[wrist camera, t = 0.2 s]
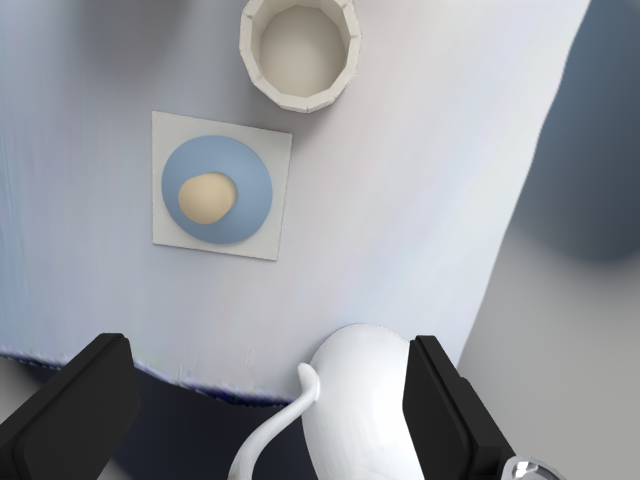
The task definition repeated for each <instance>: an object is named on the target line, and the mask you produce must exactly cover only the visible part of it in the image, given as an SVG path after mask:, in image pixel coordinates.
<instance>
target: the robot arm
mask: <svg viewBox="0 0 640 480" xmlns="http://www.w3.org/2000/svg"><path fill="white" fill-rule="evenodd" d="M140 407H141V401H140V395H139V390H138V385H137V380H136V375H135V369H134V364H133V359H132V353H131V348H130V343H129V340H128V339H127V338H125V337H124V335H123V334H121V333H102V334H100V335H98V336H97V337H96V338H95V339H94V340H93V341H92V342H91V343H90V344H89V345H87V346H86V347H85V348H84V349H83V350H82V351H81V352H80V353H79V354H78V355H76V356H75V357H74V358H73V359H72V360H71V361H70V362H69V363H68V364H67V365H65V366H64V367H63V368H62V369H61V370H60V371H59V372H58V373H57V374H56V375H54V376H53V377H52V378H51V379H50V380H49V381H48V382H47V383H46V384H45V385H43V386H42V387H41V388H40V389H39V390H38V391H37V392H36V393H35V394H34V395H32V396H31V397H30V398H29V399H28V400H27V401H26V402H25V403H24V404H23V405H21V406H20V407H19V408H18V409H17V410H16V411H15V412H14V413H13V414H12V415H11V416H9V417H8V418H7V419H6V420H5V421H4V422H3V423H2V424H1V425H0V480H97V478H98V477H99V475H100V474H101V472H102V470H103V469H104V467H105V466H106V464H107V462H108V461H109V459H110V458H111V456H112V455H113V453H114V452H115V450H116V448H117V447H118V445H119V444H120V442H121V441H122V439H123V437H124V436H125V434H126V433H127V431H128V430H129V428H130V427H131V425H132V423H133V422H134V420H135V419H136V417H137V415H138V414H139V411H140ZM402 411H403V415H404V419H405V422H406V425H407V428H408V431H409V434H410V437H411V440H412V443H413V446H414V449H415V452H416V455H417V458H418V461H419V464H420V467H421V470H422V473H423V476H424V479H425V480H567V479H566V478H565V477H563V475H561V474H560V473H559V472H558V471H557V470H556V469H554V468H553V467H551V466H549V465H548V464H546V463H544V462H543V461H540V460H538V459H535V458H532V457H527V456H516V454H515V453H514V451H513V450H512V448H511V446H510V445H509V443H508V442H507V440H506V439H505V437H504V436H503V434H502V432H501V431H500V430H499V428H498V426H497V425H496V423H495V422H494V420H493V418H492V417H491V415H490V414H489V412H488V411H487V409H486V408H485V406H484V405H483V403H482V401H481V400H480V398H479V397H478V395H477V394H476V392H475V391H474V389H473V388H472V386H471V385H470V383H469V382H468V380H467V379H465V378H463V377H460V376H459V374H458V372H457V371H456V369H455V367H454V366H453V364H452V363H451V361H450V359H449V358H448V356H447V354H446V353H445V351H444V350H443V348H442V346H441V345H440V343H439V342H438V340H437V338H436V337H435V336H423V335H417V336H416V338H415V340H411V341H410V346H409V353H408V361H407V369H406V376H405V384H404V392H403V400H402Z"/></svg>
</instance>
